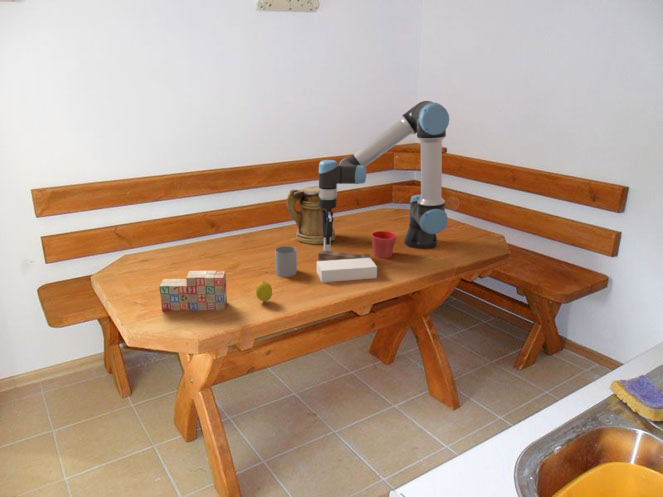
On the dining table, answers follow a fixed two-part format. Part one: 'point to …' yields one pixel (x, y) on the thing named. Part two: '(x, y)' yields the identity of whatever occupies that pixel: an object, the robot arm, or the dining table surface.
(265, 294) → the lemon
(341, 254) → the folding leg
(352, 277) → the white rectangular box
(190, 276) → the stack of blocks
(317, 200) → the tankard
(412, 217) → the robot arm
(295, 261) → the cup
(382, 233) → the flower pot
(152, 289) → the dining table surface
